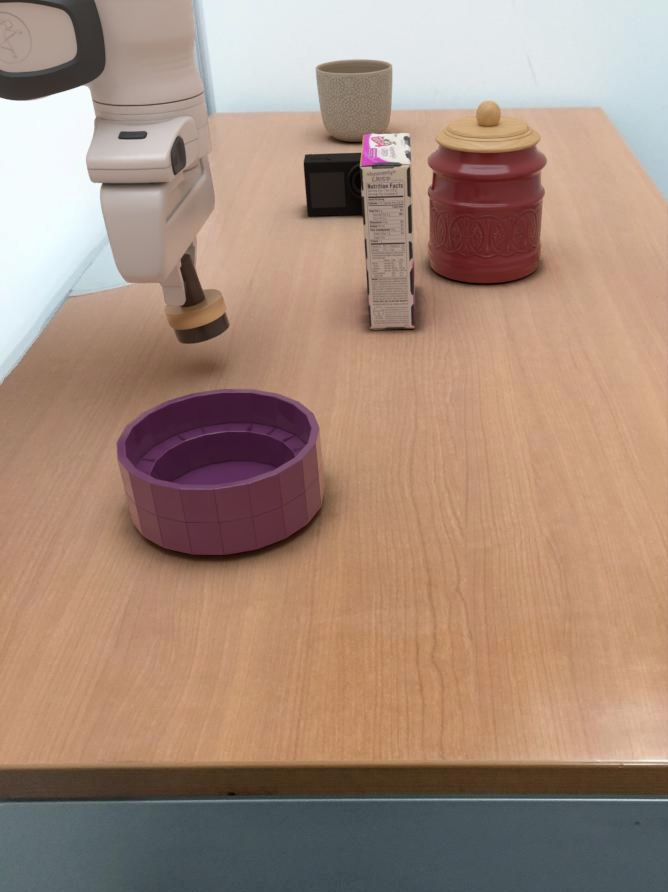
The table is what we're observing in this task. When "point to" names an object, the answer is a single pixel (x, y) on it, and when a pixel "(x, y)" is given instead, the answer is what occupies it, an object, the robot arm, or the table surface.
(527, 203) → the kitchen canister
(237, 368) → the table surface
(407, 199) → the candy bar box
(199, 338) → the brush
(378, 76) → the planter
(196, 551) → the bowl
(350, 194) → the digital camera
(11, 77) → the robot arm
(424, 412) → the table surface
